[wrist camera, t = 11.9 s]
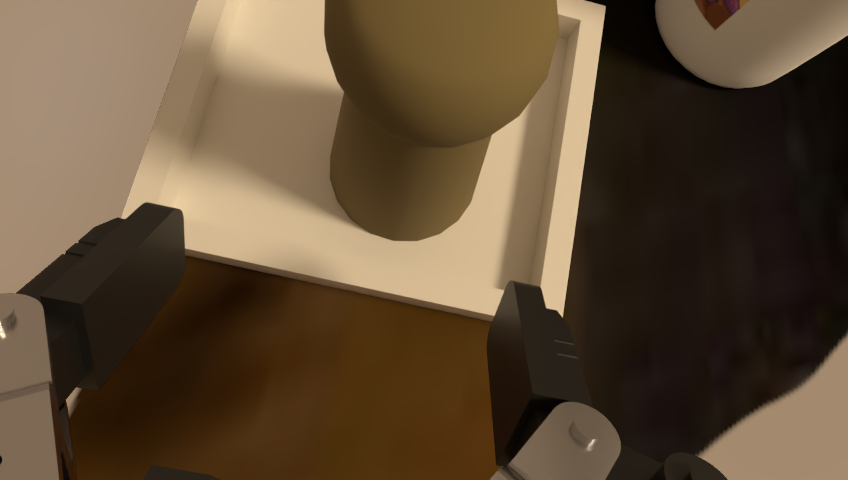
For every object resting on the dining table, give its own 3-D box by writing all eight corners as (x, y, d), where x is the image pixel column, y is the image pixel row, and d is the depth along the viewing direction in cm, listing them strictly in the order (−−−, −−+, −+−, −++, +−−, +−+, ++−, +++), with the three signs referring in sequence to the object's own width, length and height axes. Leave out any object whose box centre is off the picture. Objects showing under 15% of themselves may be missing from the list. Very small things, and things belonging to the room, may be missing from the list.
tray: (144, 246, 19) (115, 233, 17) (245, -52, 22) (232, -97, 20) (538, 331, 21) (560, 330, 18) (581, 39, 24) (605, 6, 21)
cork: (372, 75, 21) (385, -203, 10) (500, 141, 21) (645, -66, 10) (301, 198, 20) (230, 24, 9) (439, 268, 20) (535, 179, 9)
